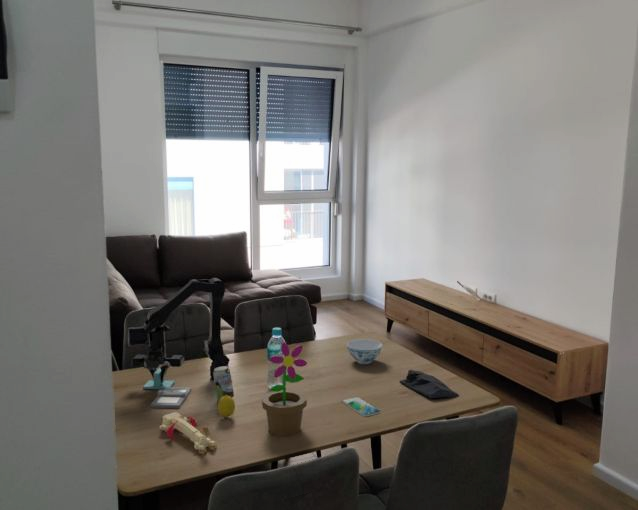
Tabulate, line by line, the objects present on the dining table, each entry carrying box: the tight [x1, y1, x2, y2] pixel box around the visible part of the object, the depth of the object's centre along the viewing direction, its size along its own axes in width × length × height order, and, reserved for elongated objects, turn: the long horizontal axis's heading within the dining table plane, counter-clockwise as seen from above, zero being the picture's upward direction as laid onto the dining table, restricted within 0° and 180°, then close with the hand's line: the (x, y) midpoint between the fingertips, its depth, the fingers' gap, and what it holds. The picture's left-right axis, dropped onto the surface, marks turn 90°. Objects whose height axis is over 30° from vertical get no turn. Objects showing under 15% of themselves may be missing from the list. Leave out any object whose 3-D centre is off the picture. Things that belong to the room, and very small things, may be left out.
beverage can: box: [213, 366, 235, 401], centre depth 205 cm, size 6×7×12 cm
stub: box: [142, 367, 176, 390], centre depth 218 cm, size 10×7×6 cm
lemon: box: [217, 395, 236, 419], centre depth 191 cm, size 6×6×8 cm
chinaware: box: [346, 338, 383, 365], centre depth 246 cm, size 15×15×8 cm
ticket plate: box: [150, 386, 192, 409], centre depth 207 cm, size 10×16×2 cm, turn 178°
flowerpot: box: [261, 342, 308, 437], centre depth 181 cm, size 14×14×30 cm
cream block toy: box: [159, 411, 218, 455], centre depth 177 cm, size 10×9×25 cm
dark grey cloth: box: [399, 369, 460, 399], centre depth 217 cm, size 15×22×5 cm
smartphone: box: [341, 396, 382, 418], centre depth 200 cm, size 7×1×15 cm
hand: (158, 382), depth 218 cm, fingers closed on stub, 2 cm apart
